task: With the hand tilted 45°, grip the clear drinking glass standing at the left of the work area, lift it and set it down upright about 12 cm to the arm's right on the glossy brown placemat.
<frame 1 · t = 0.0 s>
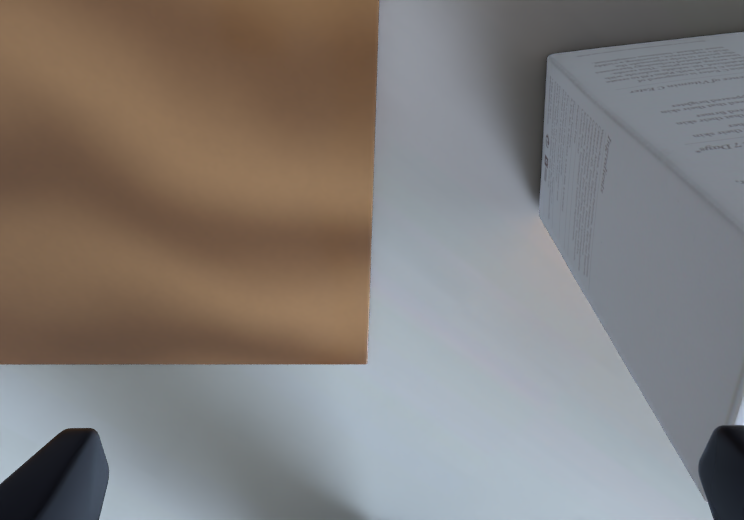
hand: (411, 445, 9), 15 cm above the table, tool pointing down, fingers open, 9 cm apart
small box: (648, 126, 22), on the table
glossy brown placemat: (105, 196, 23), on the table
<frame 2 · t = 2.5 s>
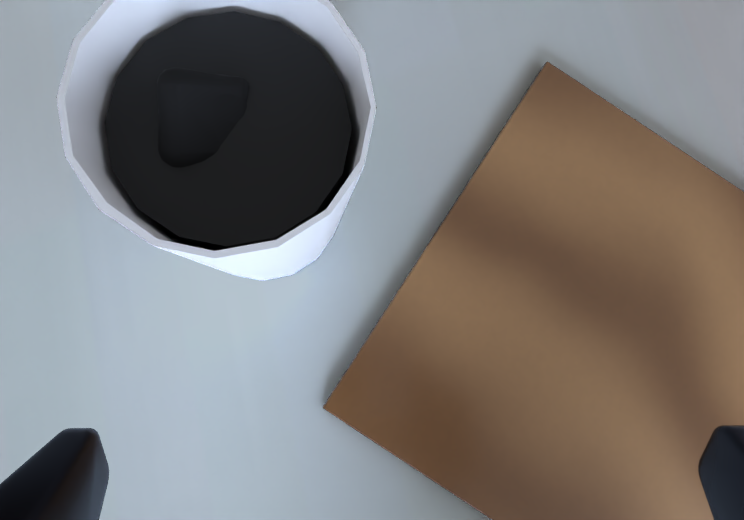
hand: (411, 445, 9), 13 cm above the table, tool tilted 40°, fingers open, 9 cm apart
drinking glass: (264, 205, 23), on the table
glossy brown placemat: (655, 370, 23), on the table
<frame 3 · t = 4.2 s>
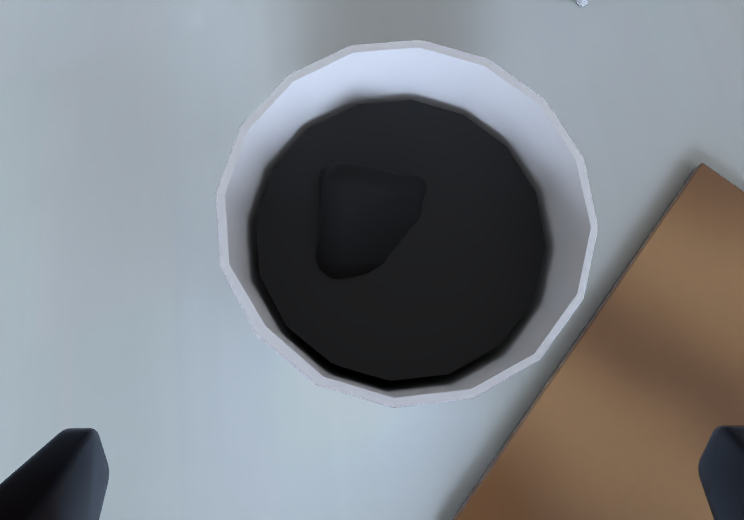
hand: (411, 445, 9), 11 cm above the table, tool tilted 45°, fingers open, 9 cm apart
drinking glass: (378, 302, 20), on the table
lollipop: (579, 4, 23), on the table
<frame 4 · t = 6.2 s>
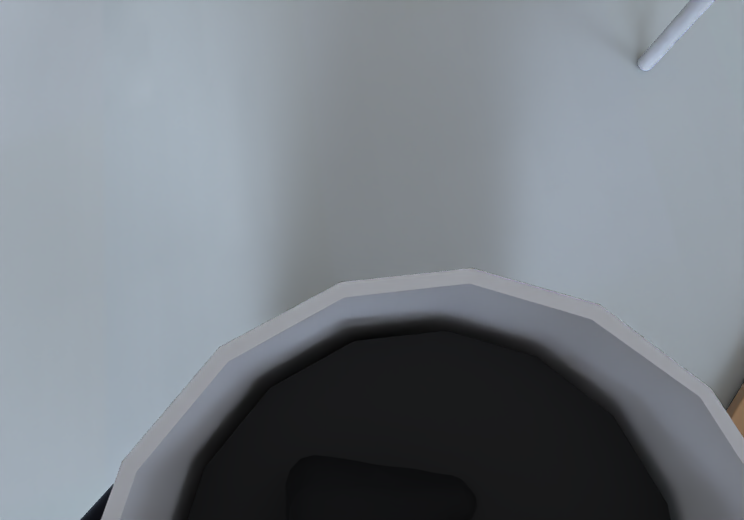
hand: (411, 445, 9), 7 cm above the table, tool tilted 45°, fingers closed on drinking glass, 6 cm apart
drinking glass: (382, 481, 15), on the table, touching gripper
lollipop: (641, 67, 18), on the table
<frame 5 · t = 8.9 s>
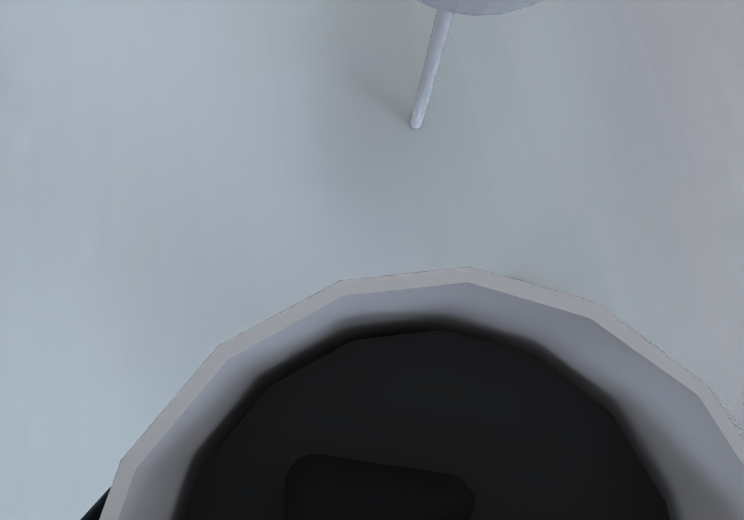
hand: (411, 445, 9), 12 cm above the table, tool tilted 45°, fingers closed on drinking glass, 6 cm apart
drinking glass: (382, 480, 15), point 5 cm above the table, touching gripper
lollipop: (415, 125, 23), on the table
when the fingers open (7 cm above the table, at t = 11.8 s): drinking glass stays where it is, resting on glossy brown placemat.
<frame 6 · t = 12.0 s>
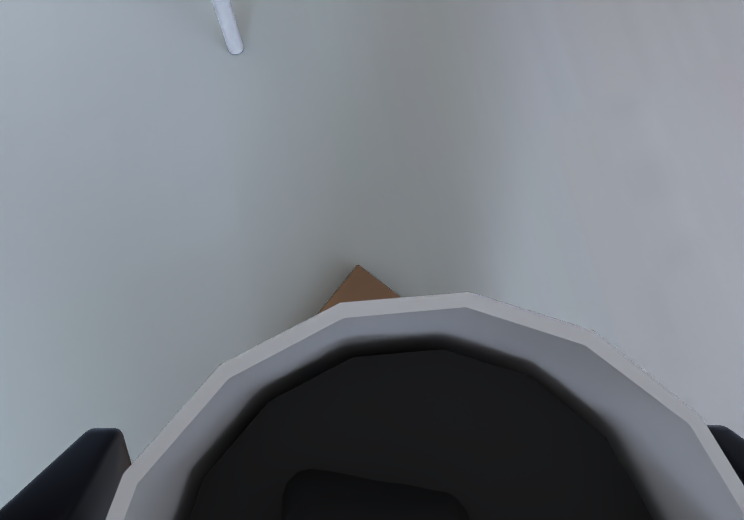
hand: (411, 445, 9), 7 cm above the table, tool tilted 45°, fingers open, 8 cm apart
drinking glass: (380, 488, 15), resting on glossy brown placemat
lollipop: (236, 51, 18), on the table
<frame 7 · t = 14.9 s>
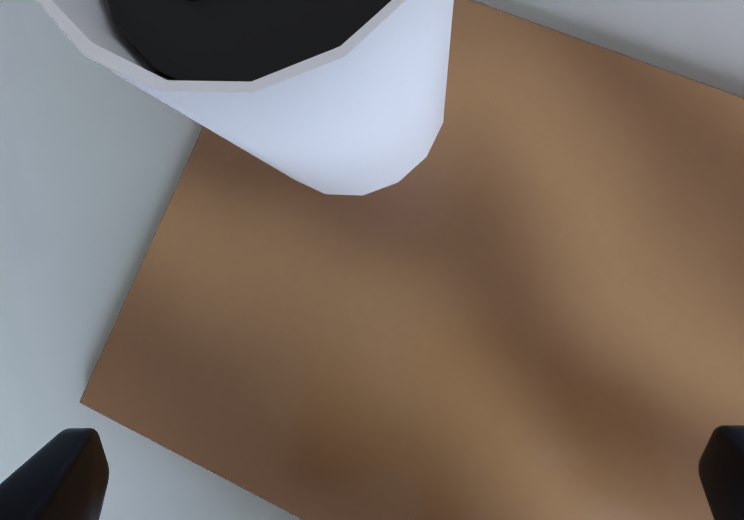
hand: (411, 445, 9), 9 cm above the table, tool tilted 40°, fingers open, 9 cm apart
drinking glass: (351, 104, 18), resting on glossy brown placemat
glossy brown placemat: (483, 298, 18), on the table
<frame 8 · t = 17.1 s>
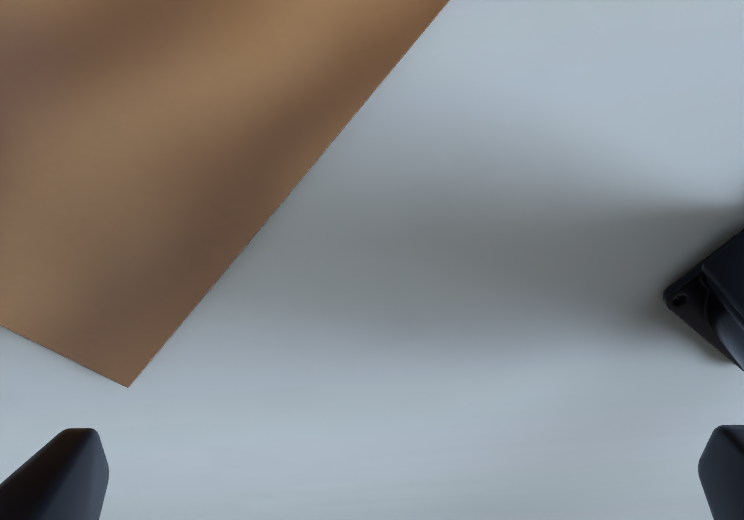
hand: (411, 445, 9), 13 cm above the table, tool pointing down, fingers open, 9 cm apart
glossy brown placemat: (48, 74, 19), on the table
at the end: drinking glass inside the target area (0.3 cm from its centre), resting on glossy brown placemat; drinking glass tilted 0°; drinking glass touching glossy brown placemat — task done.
